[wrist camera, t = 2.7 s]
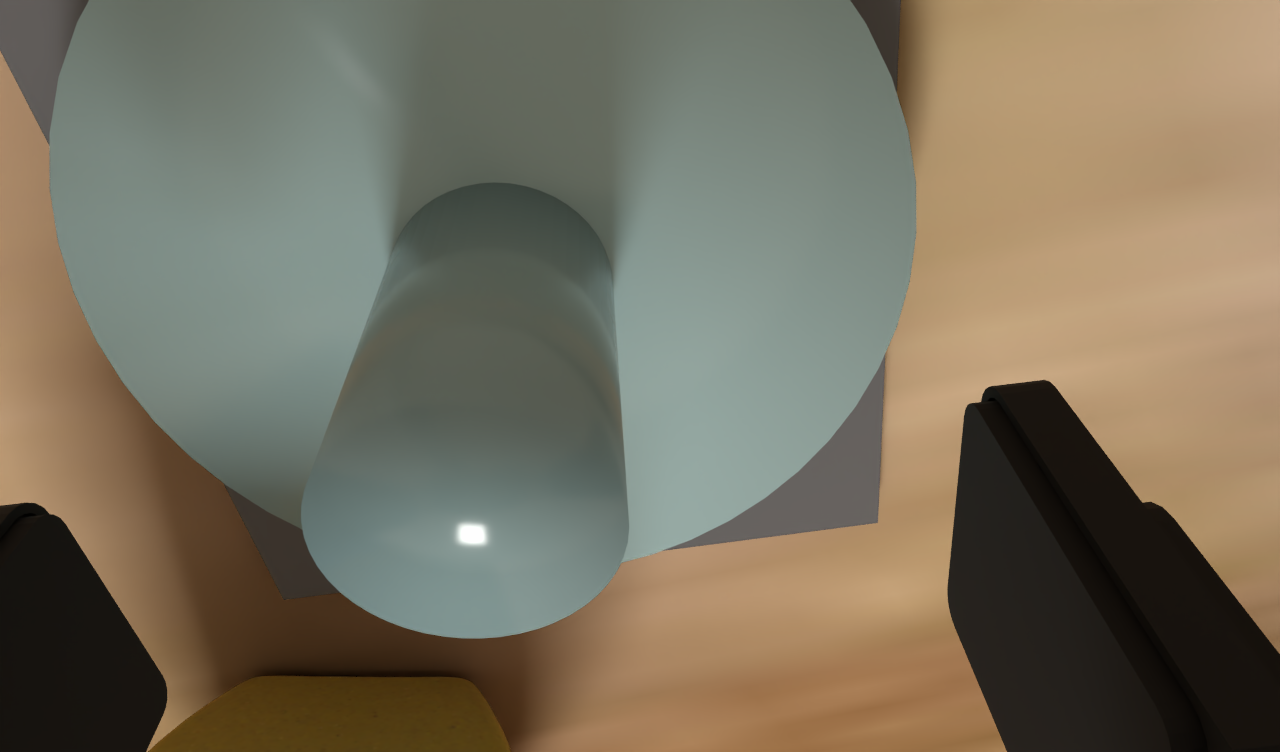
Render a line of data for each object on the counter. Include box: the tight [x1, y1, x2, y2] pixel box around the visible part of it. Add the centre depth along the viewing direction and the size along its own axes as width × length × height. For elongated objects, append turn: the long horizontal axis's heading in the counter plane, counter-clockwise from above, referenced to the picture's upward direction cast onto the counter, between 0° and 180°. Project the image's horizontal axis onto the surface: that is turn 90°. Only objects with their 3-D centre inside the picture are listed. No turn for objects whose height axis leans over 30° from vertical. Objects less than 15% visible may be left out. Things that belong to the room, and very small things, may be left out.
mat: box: [0, 0, 901, 600], centre depth 14 cm, size 14×12×1 cm
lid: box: [50, 0, 916, 638], centre depth 12 cm, size 12×12×6 cm
